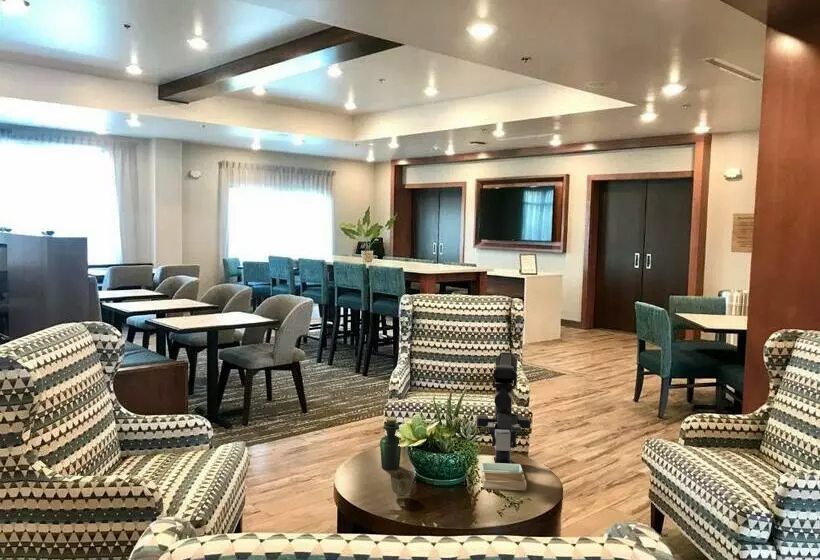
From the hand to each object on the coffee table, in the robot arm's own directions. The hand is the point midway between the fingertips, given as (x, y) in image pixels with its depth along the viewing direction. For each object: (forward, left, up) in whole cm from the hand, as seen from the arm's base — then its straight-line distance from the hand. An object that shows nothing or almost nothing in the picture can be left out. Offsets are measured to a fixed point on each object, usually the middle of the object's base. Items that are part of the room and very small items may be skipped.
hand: (502, 445), depth 225 cm
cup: (+23, -34, -12) cm, 43 cm away
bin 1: (0, 0, -11) cm, 11 cm away
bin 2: (+10, 0, -11) cm, 15 cm away
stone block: (0, 0, -1) cm, 1 cm away
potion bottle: (-5, -40, -12) cm, 42 cm away
